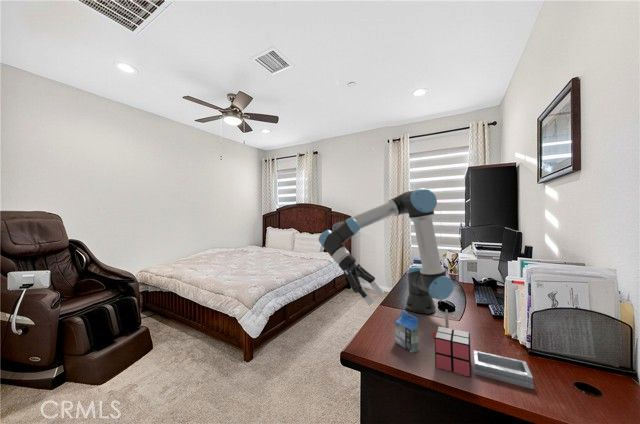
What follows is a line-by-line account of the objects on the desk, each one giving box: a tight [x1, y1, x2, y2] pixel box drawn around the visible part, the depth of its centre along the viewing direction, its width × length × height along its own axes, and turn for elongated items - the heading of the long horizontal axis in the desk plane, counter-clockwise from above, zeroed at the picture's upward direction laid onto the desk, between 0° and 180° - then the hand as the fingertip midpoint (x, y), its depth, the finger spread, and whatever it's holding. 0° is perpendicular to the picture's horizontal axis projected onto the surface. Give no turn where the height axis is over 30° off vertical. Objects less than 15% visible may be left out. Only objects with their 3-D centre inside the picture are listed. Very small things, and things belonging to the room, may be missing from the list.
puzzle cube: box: [433, 326, 472, 378], centre depth 81 cm, size 10×10×10 cm
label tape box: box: [394, 310, 419, 354], centre depth 93 cm, size 9×4×12 cm, turn 23°
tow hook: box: [432, 309, 450, 338], centre depth 99 cm, size 8×13×9 cm
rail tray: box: [473, 349, 535, 390], centre depth 76 cm, size 10×14×3 cm
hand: (377, 298), depth 99 cm, fingers open, 13 cm apart
